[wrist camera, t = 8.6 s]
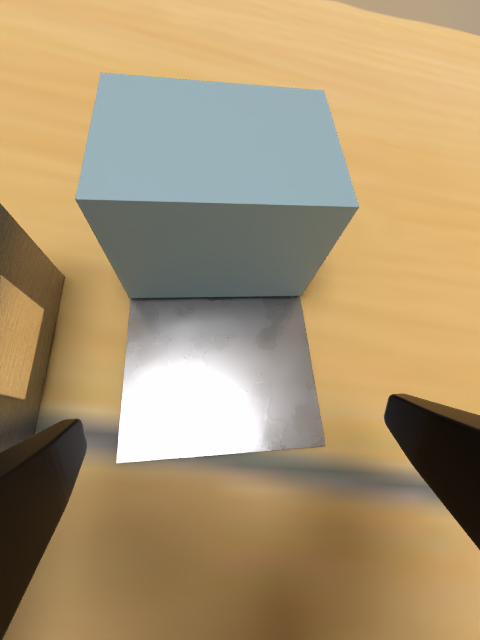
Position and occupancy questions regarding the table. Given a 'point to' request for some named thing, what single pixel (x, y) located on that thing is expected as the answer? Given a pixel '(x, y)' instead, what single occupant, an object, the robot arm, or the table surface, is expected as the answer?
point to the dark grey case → (166, 365)
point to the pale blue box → (213, 186)
